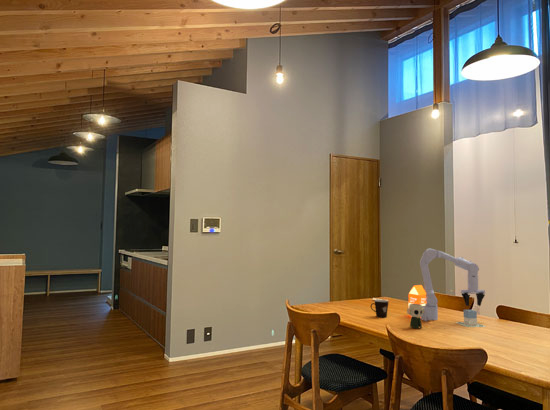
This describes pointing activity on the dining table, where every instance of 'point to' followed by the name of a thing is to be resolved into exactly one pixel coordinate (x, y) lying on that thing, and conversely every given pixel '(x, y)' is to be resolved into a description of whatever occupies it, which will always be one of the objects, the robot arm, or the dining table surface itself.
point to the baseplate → (469, 325)
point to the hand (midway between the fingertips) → (473, 305)
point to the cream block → (470, 321)
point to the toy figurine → (415, 315)
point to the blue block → (470, 314)
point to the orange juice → (417, 296)
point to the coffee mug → (381, 308)
